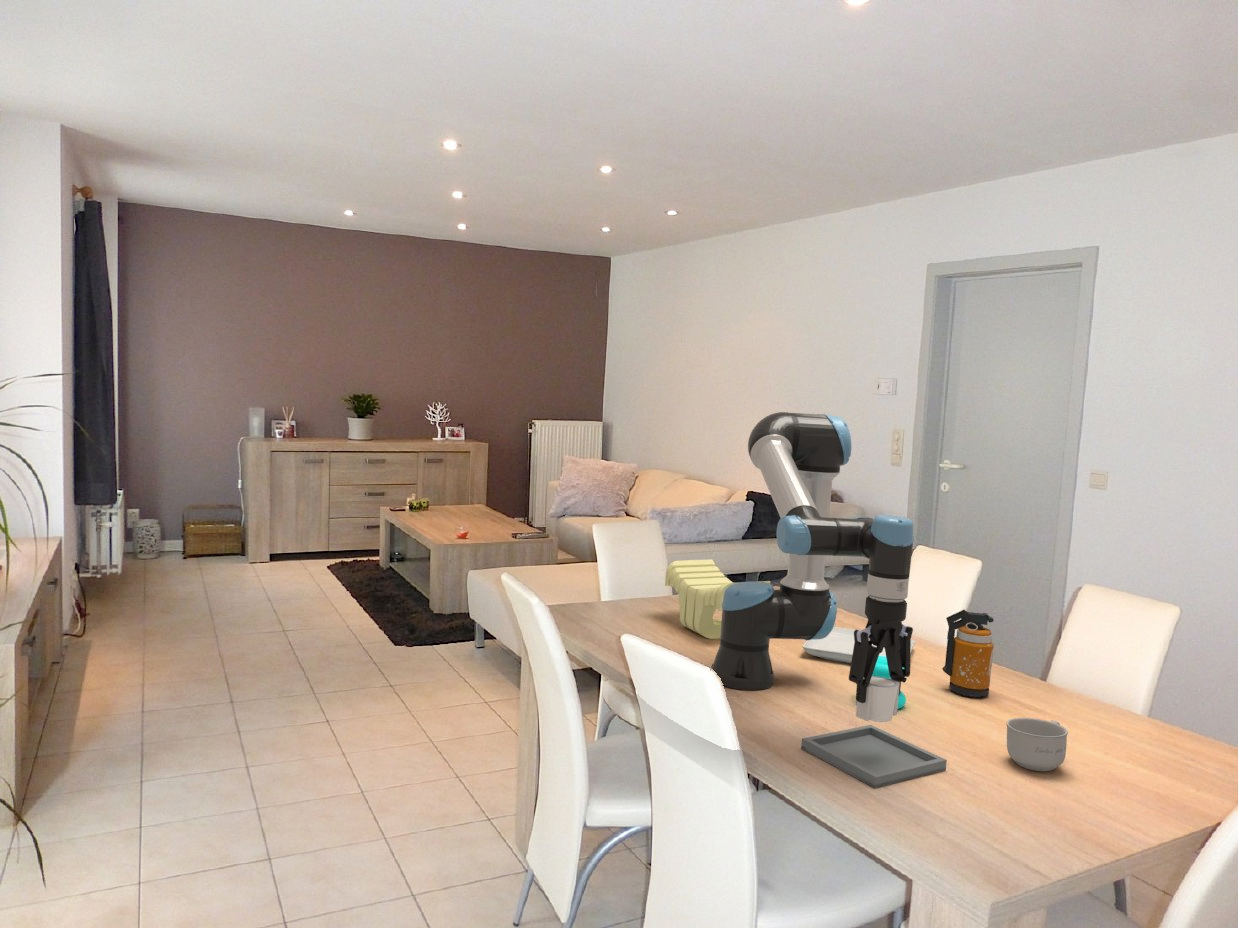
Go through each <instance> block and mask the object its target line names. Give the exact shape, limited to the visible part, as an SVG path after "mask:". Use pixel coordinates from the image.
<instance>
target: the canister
mask: <svg viewBox="0 0 1238 928" xmlns="http://www.w3.org/2000/svg"><path fill="white" fill-rule="evenodd" d="M945 619H946V623H947V626H948V631H947V638H946V639H947V641H946V642H947V643H946V649H945V650H946V652H945V653H946V654H945V662H944V665H943V667H942V669H941V670H942V671H943V673H945V674H947V675H948V676H949V683H948V684H949V685H948V686H949V687H948V688H949V690H952V691H953V692H955V693H957V694H958V695H960V694H961V695H960V696H963V695H964V697H968V696H969V698H981V696H982V697H986V696H988V695H989V694H990V685H991V677H992V676H991V674H992V666H993V654H994V645H995V644H994V643H993V641H992V640H993V639H992V638H993V633H992V631H991V629H989V628H987V627H984V626H988V623H994V621H995V620H994V618H993V616H990V615H989V614H988V613H987V612H972V611H971V612H970V611H967V610H966V609H962V610H960V611H958V612H956V613H954V614H951V615H949V616H947V617H946V618H945ZM955 635H956V636H955Z"/></svg>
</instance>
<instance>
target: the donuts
mask: <svg viewBox="0 0 1238 928" xmlns="http://www.w3.org/2000/svg"><path fill="white" fill-rule="evenodd" d="M902 669H904V668H903V667H902ZM872 676H876V677H883V678H890V679H891V677H890V675H889V669H888V664H887V658H886V656H878V659H877V662H876V665H875V668H874V671H873V674H872ZM906 703H907V698H906V696H905V694H904V693H903V692H902V690H900V695H899V697H898V708H897V710H898V709H901V708H903V707H904V706H905V705H906Z"/></svg>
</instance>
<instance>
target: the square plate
mask: <svg viewBox="0 0 1238 928" xmlns="http://www.w3.org/2000/svg"><path fill="white" fill-rule="evenodd" d="M855 630H857V629H856V628H855V629H854V628H849V627H839V626H834V627H833V629H832V631H831V632H830V634H828V636H827V637H825V638H823V639H812V640H805V642H804V643H803V645H802V648H803V650H804V651H805V652H806V654H809V655H811V656H813V657H816V658H817V657H819V658H821V659H824V660H827V661H834V662H839V663H844V662H846V663H845V664H850V663H851V661H852V655H853V649H854V643H855V641H854V631H855ZM859 630H860V631H861V629H859ZM915 644H916V640H915V639H913V638H911V650H910V656H911V655H912V651H913V649H914V646H915ZM872 646H874V645H873V644H872ZM874 647H877V646H874ZM879 656H886V653H885V648H883V651H882V653H880V654H879Z"/></svg>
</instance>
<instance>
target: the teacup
mask: <svg viewBox="0 0 1238 928" xmlns="http://www.w3.org/2000/svg"><path fill="white" fill-rule="evenodd" d="M1068 734H1069V731H1068V729H1067V728H1065V727H1064V726H1062V725H1061V723H1060V722H1059V721H1057V720H1051V719H1050V720H1049V721H1048V720H1046V719H1045V720H1044V719H1040V718H1034V717H1033V718H1032V717H1028V718H1027V717H1015V718H1011V719H1008V720H1007V721H1006V750H1007V753H1008V755H1009V757H1010V758H1011V759H1012V760H1013V761H1014V762H1015V763H1016V764H1017V766H1018V765H1019V767H1022V768H1025V769H1027V770H1031V771H1036V772H1051V771H1053V770H1055V769H1056V768H1057V767H1059V766H1061V765H1062V764H1063V763H1064V762H1065V758H1066V754H1067V753H1066V752H1067V745H1068V744H1067V742H1068V741H1067V737H1068Z"/></svg>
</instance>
